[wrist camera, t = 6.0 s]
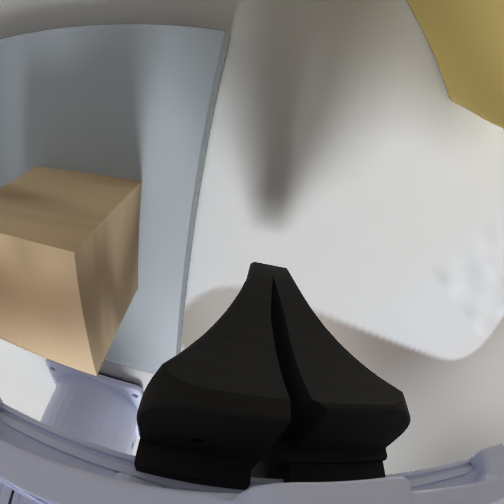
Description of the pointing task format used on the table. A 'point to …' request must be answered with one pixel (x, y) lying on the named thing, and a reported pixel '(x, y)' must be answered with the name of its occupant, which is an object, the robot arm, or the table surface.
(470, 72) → the cheese
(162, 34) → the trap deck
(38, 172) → the oak block
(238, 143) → the table surface
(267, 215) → the table surface
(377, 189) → the table surface
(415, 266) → the table surface
